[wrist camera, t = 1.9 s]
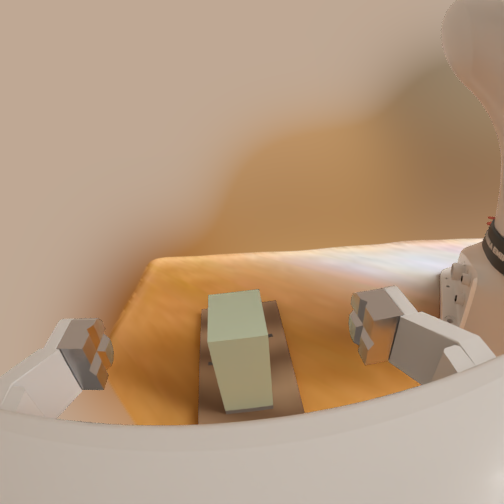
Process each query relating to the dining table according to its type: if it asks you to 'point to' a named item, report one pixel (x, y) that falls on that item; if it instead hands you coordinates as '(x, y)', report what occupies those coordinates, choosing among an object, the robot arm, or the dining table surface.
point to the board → (281, 377)
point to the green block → (240, 350)
